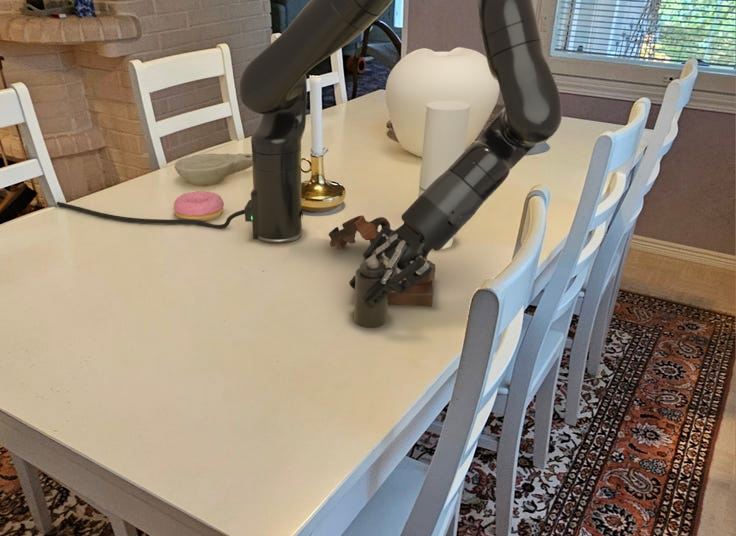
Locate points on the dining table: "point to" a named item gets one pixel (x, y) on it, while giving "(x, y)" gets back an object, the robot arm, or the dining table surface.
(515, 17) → the robot arm
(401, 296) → the button box
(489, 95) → the vase
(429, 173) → the cylindrical container
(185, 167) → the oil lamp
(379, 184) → the dining table surface
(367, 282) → the pepper mill
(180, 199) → the doughnut
